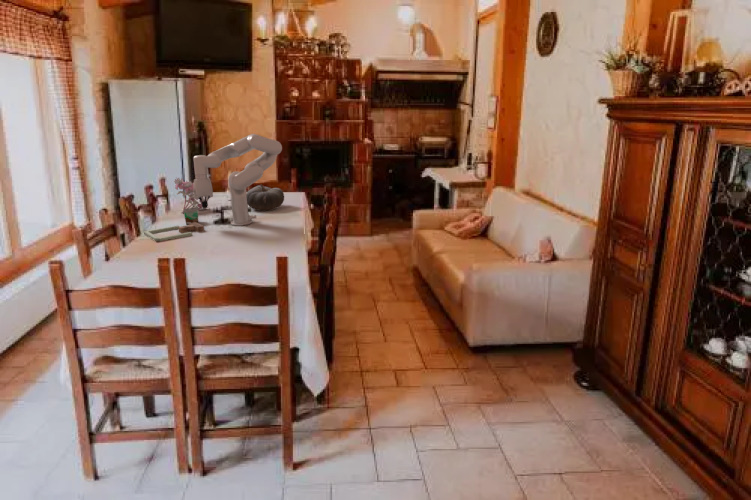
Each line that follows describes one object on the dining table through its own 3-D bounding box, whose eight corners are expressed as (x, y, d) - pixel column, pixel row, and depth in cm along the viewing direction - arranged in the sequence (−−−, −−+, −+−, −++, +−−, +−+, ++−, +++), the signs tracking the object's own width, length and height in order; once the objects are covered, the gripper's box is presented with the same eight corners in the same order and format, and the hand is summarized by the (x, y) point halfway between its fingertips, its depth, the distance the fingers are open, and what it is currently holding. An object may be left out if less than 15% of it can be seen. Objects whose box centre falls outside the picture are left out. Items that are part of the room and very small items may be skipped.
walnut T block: (196, 226, 330) (195, 222, 329) (204, 231, 320) (203, 226, 320) (176, 230, 323) (175, 225, 322) (184, 234, 313) (183, 229, 313)
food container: (194, 225, 334) (192, 209, 331) (184, 225, 335) (182, 209, 332) (204, 220, 345) (202, 205, 342) (195, 220, 346) (193, 204, 343)
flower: (202, 213, 359) (207, 177, 363) (168, 210, 359) (173, 174, 362) (210, 219, 378) (215, 185, 382) (178, 216, 378) (183, 182, 382)
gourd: (254, 200, 388) (254, 177, 381) (288, 206, 386) (289, 183, 379) (240, 212, 365) (241, 187, 358) (276, 218, 363) (278, 193, 356)
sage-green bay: (178, 227, 329) (178, 225, 328) (192, 235, 311) (192, 232, 311) (143, 234, 317) (143, 231, 317) (156, 242, 300) (156, 239, 299)
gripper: (211, 174, 327) (214, 205, 332) (187, 177, 318) (190, 208, 323) (216, 176, 321) (219, 207, 326) (191, 178, 312) (195, 210, 317)
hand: (205, 207), depth 325 cm, fingers closed
